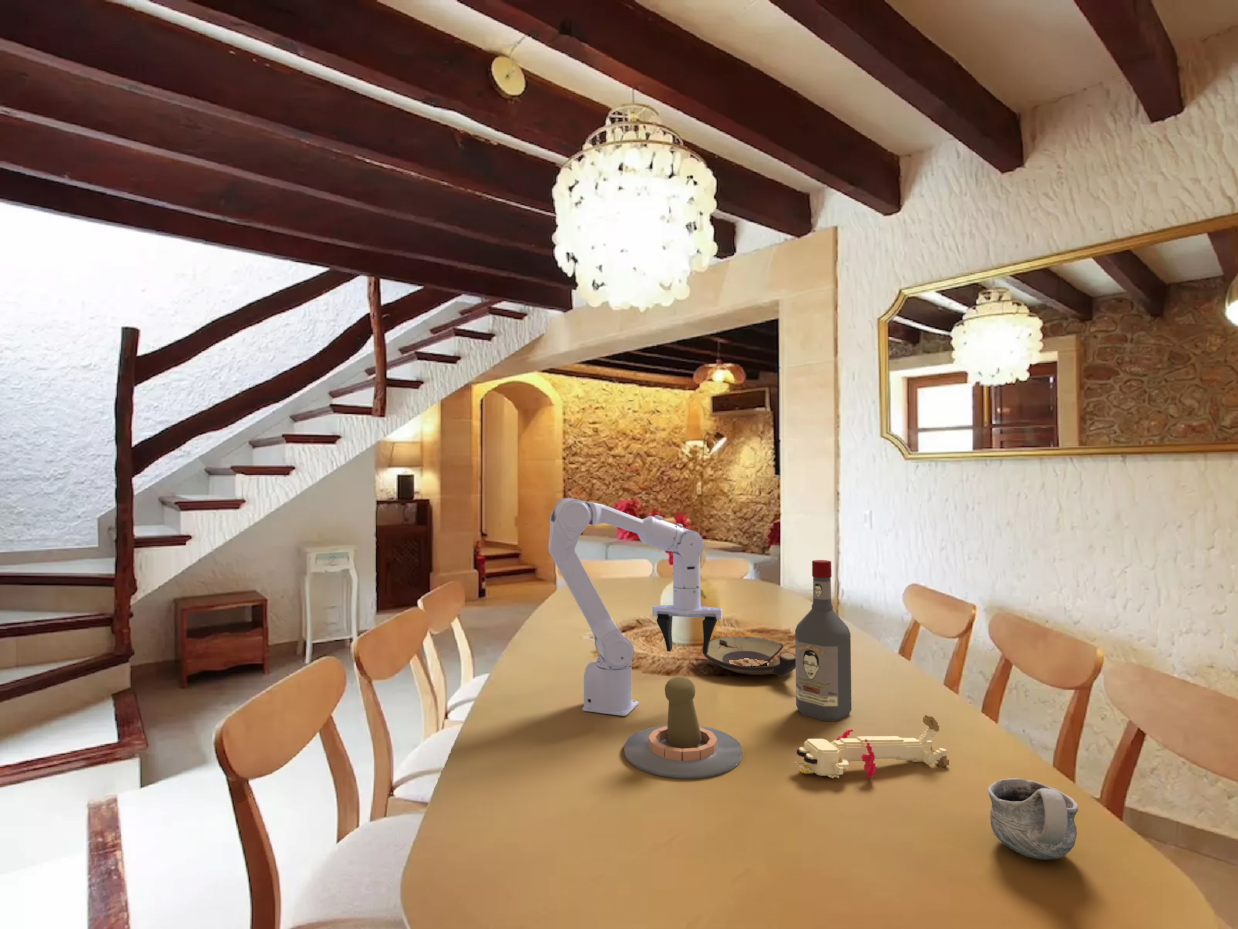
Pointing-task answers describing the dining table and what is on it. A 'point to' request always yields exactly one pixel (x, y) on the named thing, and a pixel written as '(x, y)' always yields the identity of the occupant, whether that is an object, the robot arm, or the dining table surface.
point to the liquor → (823, 654)
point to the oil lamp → (750, 655)
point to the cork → (682, 714)
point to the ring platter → (683, 754)
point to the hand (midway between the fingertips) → (687, 651)
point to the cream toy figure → (869, 751)
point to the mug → (1033, 818)
